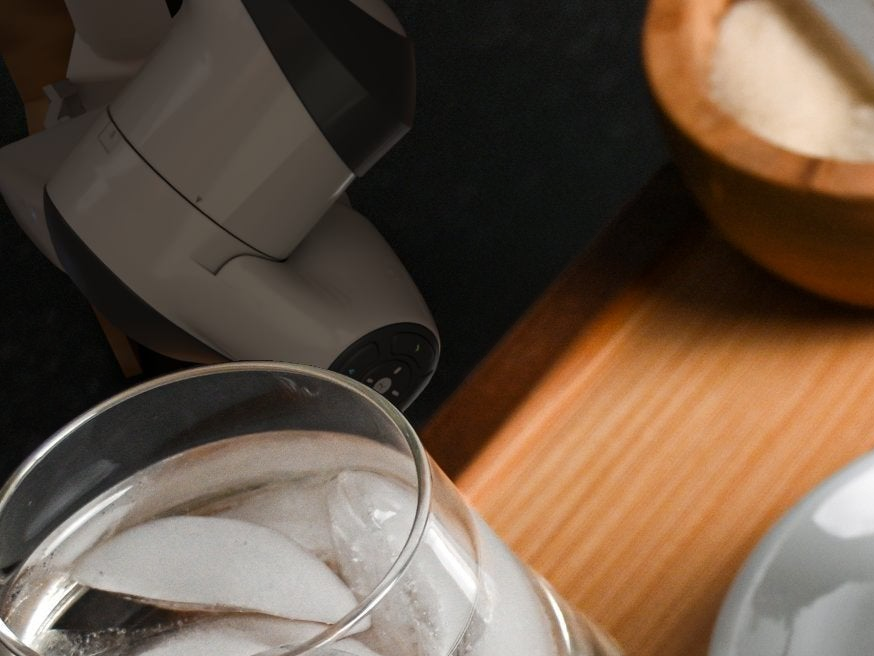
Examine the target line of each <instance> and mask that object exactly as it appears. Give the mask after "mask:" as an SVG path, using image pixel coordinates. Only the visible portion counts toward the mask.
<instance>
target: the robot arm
mask: <svg viewBox="0 0 874 656" xmlns="http://www.w3.org/2000/svg"><path fill="white" fill-rule="evenodd" d="M413 42H414V41H413V38H412V36H411V35H410V34H409V33H408V32H407V31H406V30H405V29H404V26H403V25H402V23H401V22H400V21H399V19H398V17H397V15H396V14H395V13H394V12H393V10H392V9H391V7H390V6H389V5H388V4H387V3H386V2H385V0H183V8H182V12H181V14H180V16H179V18H178V20H177V22H176V23H175V25H174V26H173V27H172V29H171V30H170V31H169V32H168V34H167V35H166V36H165V37H164V39H163V40H162V41H161V42H160V44H159V45H158V46H157V47H156V49H155V50H154V51H153V52H152V54H151V55H150V56H149V57H148V58H147V60H146V61H145V62H144V63H143V65H142V66H141V67H140V68H139V70H138V71H137V72H136V73H135V75H134V76H133V77H132V78H131V80H130V81H129V82H128V83H127V84H126V86H125V87H124V88H123V89H122V91H121V92H120V93H119V94H118V96H117V97H116V98H115V99H114V101H113V102H111V103H108V104H106V105H104V106H101V107H99V108H96V109H94V110H91V111H89V112H86V110H85V108H84V106H83V105H82V100H81V98H80V96H79V93H78V91H77V90H76V88H75V87H74V85H72V84H71V81H70V80H69V78H68V77H67V78H65V79H62V80H60V81H57V82H54V83H52V84H49V85H47V86H44V87H42V89H43V92H44V94H45V96H46V99H47V101H48V103H49V108H48V111H47V115H46V118H45V121H44V124H43V125H44V127H45V130H43V131H41V132H38V133H36V134H33V135H31V136H26V137H24V138H21V139H19V140H17V141H13V142H11V143H9V144H6V145H4V146H2V147H0V194H1V196H2V198H3V200H4V202H5V204H6V206H7V208H8V209H9V211H10V213H11V214H12V216H13V217H14V219H15V221H16V223H17V224H18V225H19V227H20V228H21V229H22V231H23V232H24V233H25V235H26V236H27V237H28V239H30V241H31V242H32V243H33V244H34V246H36V248H37V249H38V250H39V251H40V252H41V253H42V254H43V255H44V256H45V257H46V258H47V259H48V260H49V261H50V262H51V263H52V264H53V265H54V266H56V267H57V268H58V269H59V270H60V271H62V272H63V273H65V274H66V275H67V276H68V277H69V279H71V281H72V282H73V284H74V285H75V287H77V289H78V290H79V291H80V292H81V294H82V295H83V296H84V297H85V298H86V299H87V300H88V302H89V301H90V302H91V304H92V305H93V306H94V307H95V308H96V309H97V310H98V311H99V312H100V313H101V314H102V315H103V316H104V317H105V318H106V319H107V320H108V321H109V322H111V323H112V324H113V325H114V326H115V327H117V328H118V329H119V330H120V331H122V332H123V333H125V334H126V335H128V336H129V337H131V338H132V339H134V340H135V341H137V343H138V344H139V345H142V346H143V347H145V348H147V349H149V350H151V351H154V352H155V353H157V354H160V355H163V356H165V357H168V358H171V359H175V360H178V361H183V362H192V363H198V364H206V365H212V363H220V362H228V361H239V360H273V361H283V362H292V363H299V364H305V365H312V366H316V367H320V368H324V369H328V370H332V371H335V372H338V373H341V374H344V375H347V376H349V377H352V378H354V379H356V380H358V381H360V382H362V383H364V384H366V385H368V386H369V387H371V388H373V389H375V390H376V391H378V392H379V393H381V394H382V395H384V396H385V397H387V398H388V399H389V400H391V401H392V402H393V403H394V404H395V405H396V406H397V407H398V408H399V409H400V410H401V411H402V413H404V411H406V410H407V409H408V408H409V407H410V406H411V404H412V403H413V402H414V401H415V400H416V399H417V398H418V397H419V396H420V395H421V394H422V392H423V391H424V389H425V388H426V387H427V386H428V384H429V383H430V381H431V380H432V377H433V376H434V375H435V373H436V370H437V368H438V364H439V362H440V361H439V360H440V356H441V339H440V334H439V330H438V327H437V325H436V322H435V319H434V317H433V315H432V312H431V311H430V308H429V306H428V305H427V302H426V301H425V299H424V297H423V295H422V293H421V292H420V290H419V287H418V286H417V284H416V282H415V281H414V280H413V278H412V276H411V275H410V273H409V272H408V270H407V269H406V267H405V266H404V264H403V262H402V261H401V259H400V257H398V256H397V253H396V252H395V251H394V249H393V248H392V247H391V245H390V244H389V243H388V241H387V240H386V239H385V238H384V236H383V235H382V234H381V233H380V231H379V229H378V228H377V227H376V226H375V225H374V224H373V223H372V222H371V221H370V220H369V219H368V218H367V217H366V216H364V215H363V214H361V213H360V212H359V211H357V210H355V209H353V207H352V204H351V200H350V198H349V196H348V194H347V192H346V190H347V188H348V187H349V186H350V185H351V184H352V183H353V182H354V180H355V179H356V178H357V177H358V178H362V177H363V176H364V175H365V174H366V173H367V172H368V171H369V170H371V168H372V167H373V166H375V164H376V163H377V162H379V161H380V160H381V159H382V158H383V156H385V155H386V154H387V153H388V152H389V151H390V150H391V149H392V148H393V147H394V146H395V145H397V143H398V142H399V141H400V140H402V139H403V137H405V135H407V134H408V132H409V131H411V130H412V129H413V124H414V119H415V112H416V101H417V64H416V63H417V62H416V56H415V55H416V54H415V46H414V43H413ZM90 302H89V303H90ZM91 304H90V305H91Z"/></svg>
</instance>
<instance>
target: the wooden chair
mask: <svg viewBox="0 0 874 656" xmlns="http://www.w3.org/2000/svg"><path fill="white" fill-rule="evenodd" d="M75 31H76V29H75V27H74V24H73V22H72V19H71V17H70V15H69V12H68V10H67V7H66V5H65V2H64V0H0V55H1V57H2V59H3V61H4V63H5V66H6V68H7V71H8V73H9V74H10V76H11V79H12V81H13V83H14V85H15V87H16V89H17V92H18V94H19V96H20V98H21V100H22V102H23V106H24V112H25V119H26V124H27V125H26V126H27V131H28V135H29V136H31V135H33V134H36V133H38V132H41V131H43V130H45V127H44V125H43V124H44V121H45V118H46V115H47V111H48V108H49V103H48V101H47V99H46V96H45V94H44V92H43V89H42V87H44V86H47V85H49V84H52V83H54V82H57V81H60V80H62V79H65V78H66V74H67V70H68V65H69V60H70V55H71V50H72V46H73V41H74V36H75ZM29 136H28V137H29ZM88 302H89V303H90V306H91V307H92V310H93V312H94V314H95V317H96V318H97V320H98V323H99V325H100V327H101V329H102V332H103V333H104V335H105V337H106V339H107V341H108V344H109V346H110V348H111V350H112V352H113V354H114V356H115V359H116V360H117V363H118V364H119V366H120V369H121V371H122V373H123V375H124V377H125V378H131V377H134V376H138V375H142V374H144V370H143V365H142V359H141V355H140V354H141V353H140V348H139V343H138V342H137V341H135V340H134V339H132V338H131V337H129V336H128V335H126V334H125V333H123V332H122V331H120V330H119V329H118V328H117V327H115V326H114V325H113V324H112V323H111V322H109V321H108V320H107V319H106V318H105V317H104V316H103V315H102V314H101V313H100V312H99V311H98V310H97V309H96V308H95V307H94V306H93V305H92V304H91V302H90V301H89V300H88Z"/></svg>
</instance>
